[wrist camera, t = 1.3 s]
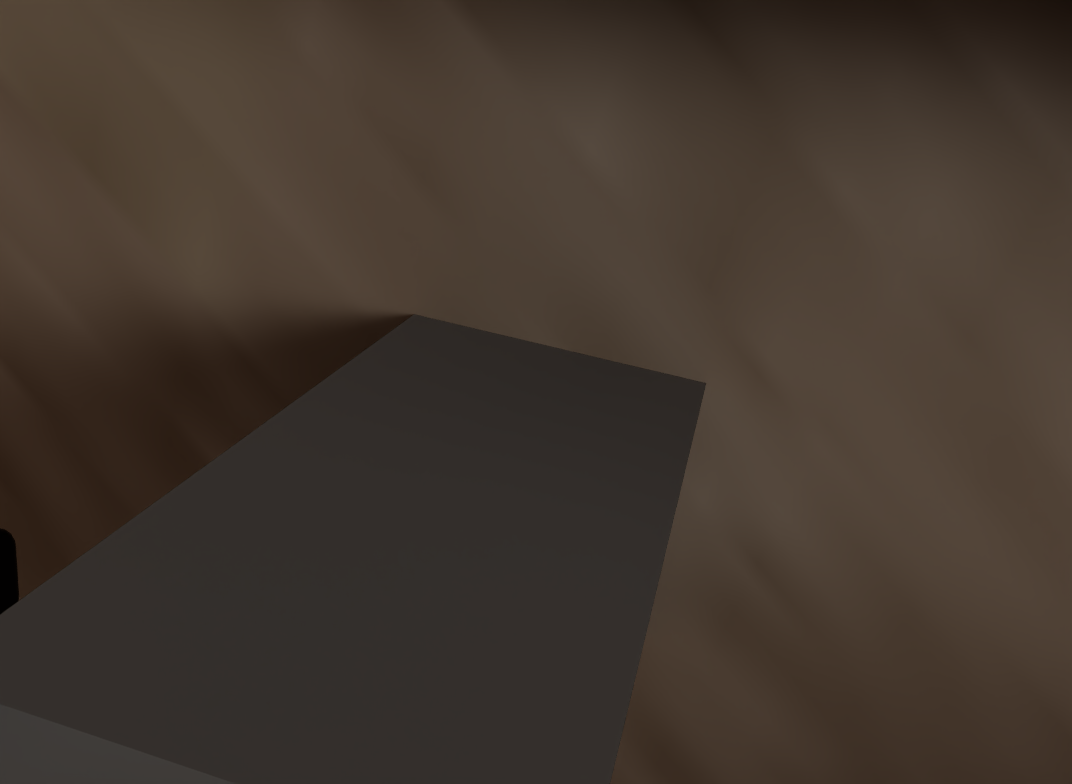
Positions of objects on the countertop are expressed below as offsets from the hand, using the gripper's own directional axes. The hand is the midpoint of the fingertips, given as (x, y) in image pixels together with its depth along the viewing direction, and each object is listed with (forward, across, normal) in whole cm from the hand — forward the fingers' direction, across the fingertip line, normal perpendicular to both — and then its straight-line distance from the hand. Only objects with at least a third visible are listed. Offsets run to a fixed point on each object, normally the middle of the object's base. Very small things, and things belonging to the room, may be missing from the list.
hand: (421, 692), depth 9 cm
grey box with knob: (+5, 0, 0) cm, 5 cm away
